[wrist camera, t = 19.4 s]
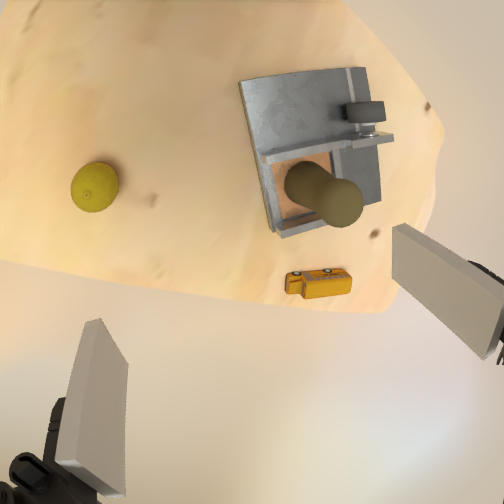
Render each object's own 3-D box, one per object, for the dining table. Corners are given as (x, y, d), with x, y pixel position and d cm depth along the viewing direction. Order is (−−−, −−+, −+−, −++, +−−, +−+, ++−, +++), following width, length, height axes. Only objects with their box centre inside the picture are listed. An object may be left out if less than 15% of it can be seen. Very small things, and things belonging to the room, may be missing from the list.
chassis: (238, 82, 35) (249, 77, 29) (359, 67, 37) (384, 64, 31) (269, 228, 44) (284, 245, 38) (375, 198, 46) (399, 210, 40)
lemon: (116, 206, 37) (104, 227, 30) (77, 194, 35) (57, 213, 28) (128, 165, 36) (118, 177, 28) (88, 153, 34) (69, 162, 26)
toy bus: (285, 271, 47) (294, 284, 44) (342, 266, 50) (353, 277, 46) (283, 289, 49) (291, 303, 45) (338, 283, 51) (349, 295, 48)
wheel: (338, 104, 37) (359, 104, 32) (369, 101, 37) (391, 101, 33) (341, 125, 38) (362, 128, 34) (372, 121, 39) (394, 124, 34)
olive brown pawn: (291, 212, 42) (328, 244, 32) (278, 169, 39) (315, 191, 29) (331, 195, 42) (376, 222, 32) (320, 154, 39) (366, 170, 29)
